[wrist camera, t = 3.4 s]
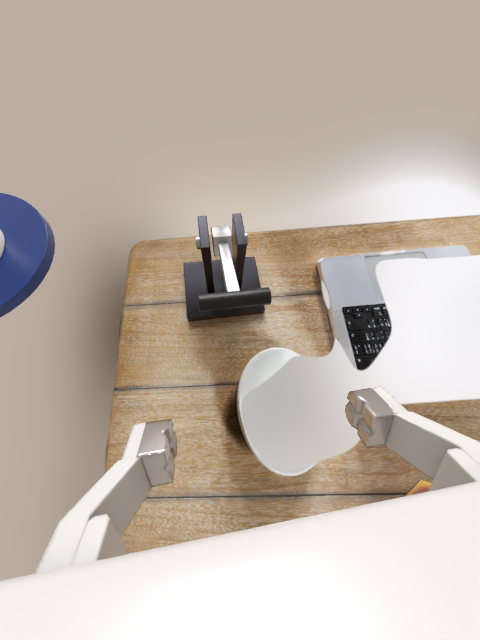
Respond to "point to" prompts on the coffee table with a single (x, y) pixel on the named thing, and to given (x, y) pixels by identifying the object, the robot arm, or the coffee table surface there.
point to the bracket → (219, 273)
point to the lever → (230, 279)
